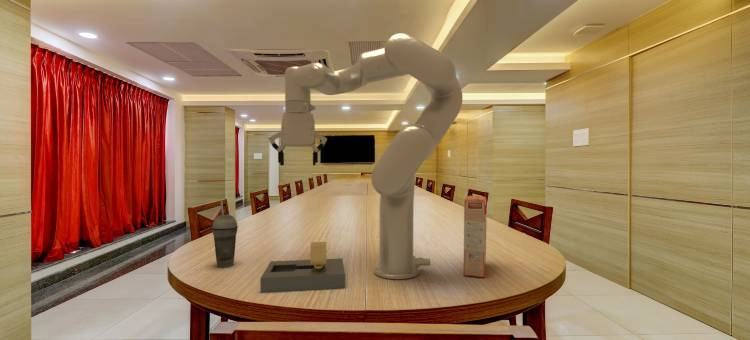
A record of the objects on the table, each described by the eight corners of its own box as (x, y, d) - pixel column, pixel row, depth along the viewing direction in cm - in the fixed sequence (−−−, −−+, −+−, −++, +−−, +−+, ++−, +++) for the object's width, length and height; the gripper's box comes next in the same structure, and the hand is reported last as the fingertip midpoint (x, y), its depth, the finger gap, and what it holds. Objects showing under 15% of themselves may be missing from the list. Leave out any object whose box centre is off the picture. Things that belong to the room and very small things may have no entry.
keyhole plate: (342, 270, 96) (342, 258, 96) (344, 288, 82) (344, 273, 82) (270, 273, 93) (270, 261, 93) (260, 292, 79) (260, 277, 79)
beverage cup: (228, 269, 97) (227, 201, 96) (206, 268, 98) (205, 200, 98) (243, 262, 104) (242, 198, 104) (222, 261, 105) (221, 198, 105)
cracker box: (486, 278, 89) (486, 200, 88) (462, 276, 90) (462, 199, 90) (486, 264, 102) (486, 195, 102) (466, 262, 104) (466, 195, 103)
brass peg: (327, 276, 91) (327, 241, 90) (327, 282, 86) (327, 245, 86) (310, 277, 90) (310, 242, 90) (309, 283, 86) (309, 245, 85)
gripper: (326, 111, 106) (327, 165, 107) (270, 110, 104) (271, 165, 104) (326, 107, 99) (326, 165, 99) (266, 106, 97) (266, 165, 97)
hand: (298, 165), depth 102 cm, fingers open, 9 cm apart
